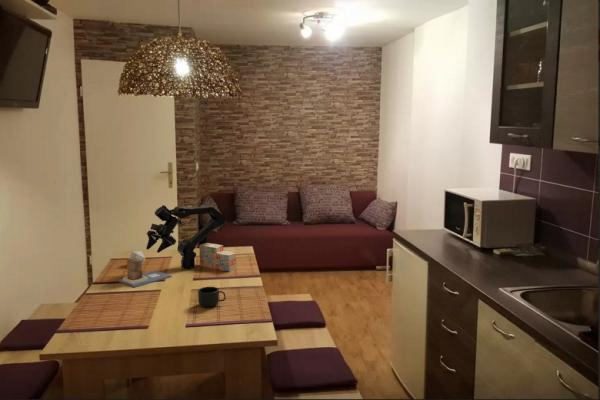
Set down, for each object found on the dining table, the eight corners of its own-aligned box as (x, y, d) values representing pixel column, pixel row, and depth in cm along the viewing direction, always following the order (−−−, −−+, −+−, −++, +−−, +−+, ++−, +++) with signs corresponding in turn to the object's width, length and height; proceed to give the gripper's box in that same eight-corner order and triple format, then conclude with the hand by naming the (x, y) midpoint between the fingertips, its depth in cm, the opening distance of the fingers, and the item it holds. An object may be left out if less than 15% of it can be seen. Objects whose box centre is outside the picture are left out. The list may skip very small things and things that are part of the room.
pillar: (136, 276, 258) (135, 257, 257) (142, 278, 255) (141, 259, 254) (127, 279, 255) (126, 260, 253) (133, 281, 251) (132, 261, 250)
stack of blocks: (236, 269, 278) (236, 247, 276) (229, 272, 273) (228, 250, 271) (207, 263, 289) (206, 242, 287) (199, 266, 284) (199, 244, 282)
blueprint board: (155, 271, 273) (155, 267, 272) (171, 276, 264) (171, 272, 263) (118, 281, 256) (118, 277, 255) (134, 287, 247) (134, 282, 247)
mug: (196, 309, 220) (196, 293, 219) (200, 301, 229) (199, 286, 228) (224, 308, 220) (224, 293, 219) (227, 301, 229) (226, 286, 228)
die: (138, 269, 279) (147, 254, 282) (124, 261, 278) (133, 246, 281) (140, 270, 287) (149, 255, 289) (126, 263, 286) (135, 248, 289)
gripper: (148, 215, 270) (131, 239, 264) (170, 219, 259) (153, 245, 252) (161, 227, 278) (145, 251, 271) (183, 232, 266) (166, 257, 259)
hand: (152, 250), depth 263 cm, fingers open, 9 cm apart
